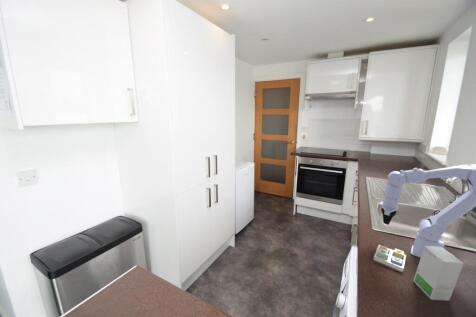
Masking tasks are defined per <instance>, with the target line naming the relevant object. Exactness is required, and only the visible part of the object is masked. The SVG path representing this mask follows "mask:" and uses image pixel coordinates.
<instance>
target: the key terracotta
mask: <svg viewBox="0 0 476 317" xmlns="http://www.w3.org/2000/svg"><path fill="white" fill-rule="evenodd" d="M380 245H381V244H380ZM380 249H383V250H385V251H388V253H389V249H391V248H389V247H387V246H384V245H383V244H382V245H381V247H380Z"/></svg>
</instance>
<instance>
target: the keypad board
mask: <svg viewBox="0 0 476 317" xmlns="http://www.w3.org/2000/svg"><path fill="white" fill-rule="evenodd" d="M380 247H381V244H378V246H377V248H376V251H375V253H374V255H373V260H372V261H373V262H376V263H379V265H380V264H381V265H382V266H385V267H388V268H390V269H391V270H395V271H397V272H399V273H402V274H403V272H404V270H405V262H406V258H407V254H405V253H404V255H403V259H402V264H401V266H400V265H397V264H395V263H393V262H392V258H393V254H394V250H395V249H392V248H390V249H389V253H388V255H387V259H386V260H385V259H383V258H380V257H378V256H377V255H378V251H379V248H380Z"/></svg>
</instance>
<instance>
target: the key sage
mask: <svg viewBox="0 0 476 317" xmlns="http://www.w3.org/2000/svg"><path fill="white" fill-rule="evenodd" d="M387 255H388V251H385V250H383V249H380V248H379V251H378V255H377V256H378V257H380V258H383V259H385V260H386V259H387Z"/></svg>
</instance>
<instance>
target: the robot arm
mask: <svg viewBox="0 0 476 317" xmlns="http://www.w3.org/2000/svg"><path fill="white" fill-rule="evenodd" d="M454 177H455V178H457V179H461V180H464V181H467V184H468V188H469V190H468V191H466V192H465V193H463V194H462V195H460V196H459V197H458V198H456V199H455V200H454V201H452V202H451V203H450V204H449V205H447V206H446V207H444V208H443V209H442V210H440V211H439V212H438V213H436V214H434V215H430V216H428V217H426V218H422V219H420V220H419V221H418V227H419V230H418V231H416V234H415V239H414V243H413V245H411V249H410V255H413V256H414V257H417V258H420V259H421V255H422V252H423V249H424V246H435V247H442V248H444V249H445V241H443V240H440V239H441V238H442V236H443V234H444V233H445V232H446V231H447V229H448V227H449V225H451V224H453V223H454V222H456V221H457V220H458V219H460V218H461V217H463V216H464V215H466V214H467V213H469V212H470V211H471V210H474V209H475V207H476V163H471V164H460V165H454V166H453V165H452V166H447V167H443V168H442V167H441V168H436V169H435V168H434V169H430V170H424V169H422V168H418V167H414V168H412V169H408V170H403V169H401V170H399V171H397V170H394V171H391V172H390V173H388V175H387V180H388V181H387V183H386V186H385V191H384V194H383V201H382V202H379V206H381V209H380V211H381V214H382V223H383V224H384V225H387V226H388V225H390V223H391V221H392V219H393V218H394V216H396V214H397V212H398V209H399V202H400V198H401V194H402V187H403V185H404V184H405V185H409V184H416V183H417V184H418V183H425V182H426V181H427V180H428V179H439V178H440V179H442V178H454Z"/></svg>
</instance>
